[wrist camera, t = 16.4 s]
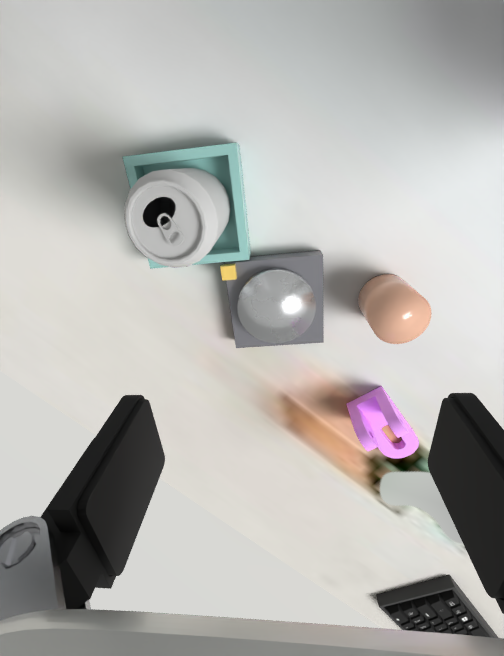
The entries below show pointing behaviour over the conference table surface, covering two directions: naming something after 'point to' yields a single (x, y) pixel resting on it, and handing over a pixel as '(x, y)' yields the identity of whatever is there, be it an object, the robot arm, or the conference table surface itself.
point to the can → (176, 215)
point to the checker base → (243, 270)
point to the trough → (227, 170)
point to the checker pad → (276, 305)
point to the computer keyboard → (434, 609)
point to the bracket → (381, 424)
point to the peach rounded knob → (394, 309)
